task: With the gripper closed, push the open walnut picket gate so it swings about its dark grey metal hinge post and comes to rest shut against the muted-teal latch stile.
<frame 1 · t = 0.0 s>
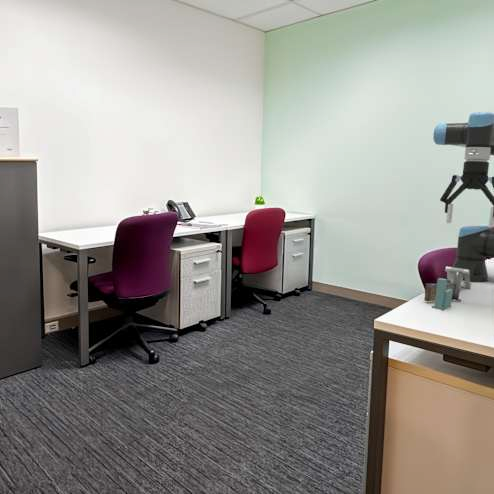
hand: (469, 225, 159), 28 cm above the table, fingers open, 13 cm apart
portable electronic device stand: (456, 288, 189), on the table
stile: (439, 308, 159), on the table
gate: (439, 291, 166), point 4 cm above the table, hinge at -26.0°
camera: (446, 291, 184), on the table
hinge post: (454, 300, 170), on the table
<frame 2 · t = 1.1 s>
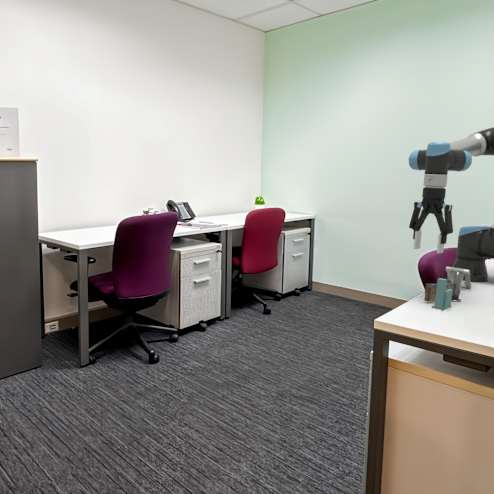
hand: (428, 250, 169), 17 cm above the table, fingers open, 9 cm apart
nothing on the table moved.
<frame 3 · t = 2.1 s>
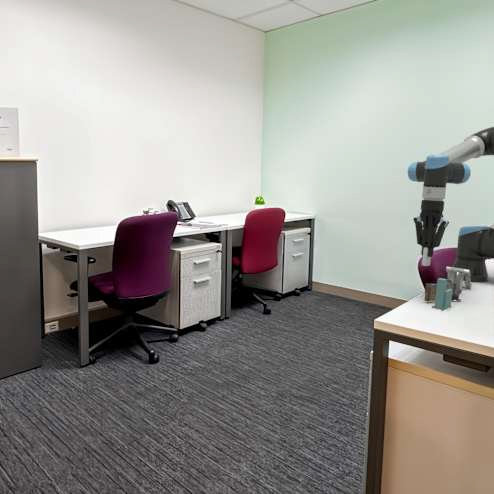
hand: (425, 265, 170), 12 cm above the table, fingers closed
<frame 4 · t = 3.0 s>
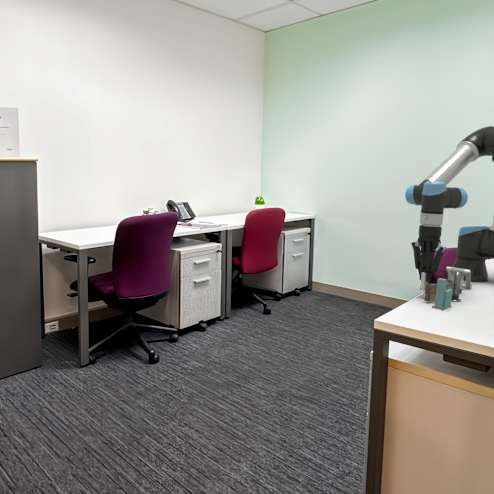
hand: (424, 289, 171), 3 cm above the table, fingers closed
nothing on the table moved.
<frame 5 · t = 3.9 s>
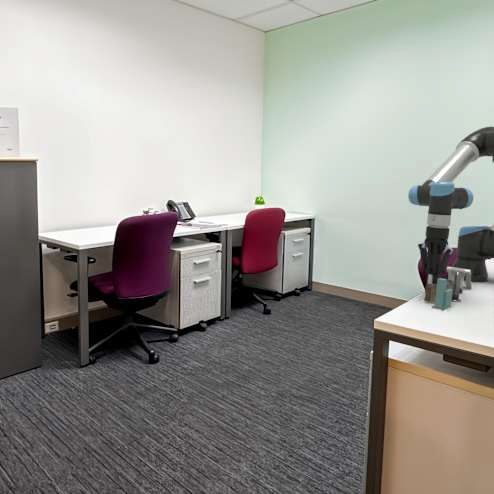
hand: (430, 292, 168), 3 cm above the table, fingers closed
gate: (439, 291, 166), point 4 cm above the table, hinge at -25.3°, touching gripper
everything else where it was.
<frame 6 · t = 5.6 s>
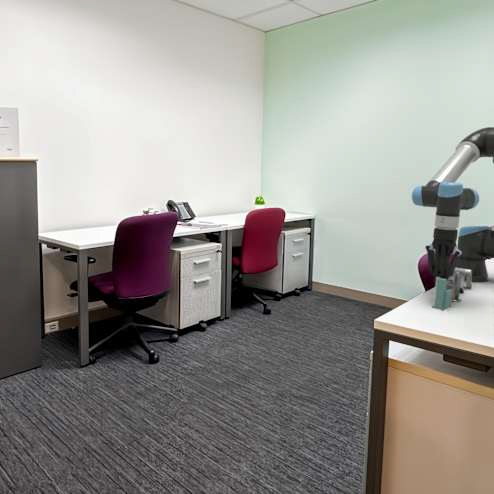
hand: (438, 294, 165), 3 cm above the table, fingers closed
gate: (447, 293, 164), point 4 cm above the table, hinge at -1.1°, touching gripper
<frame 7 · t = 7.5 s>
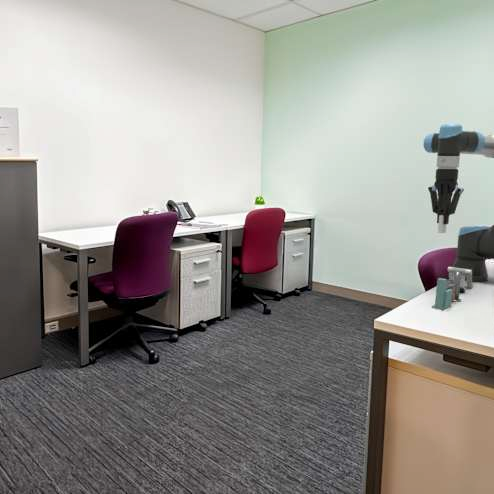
hand: (441, 232, 175), 23 cm above the table, fingers closed
gate: (447, 293, 164), point 4 cm above the table, hinge at -1.1°
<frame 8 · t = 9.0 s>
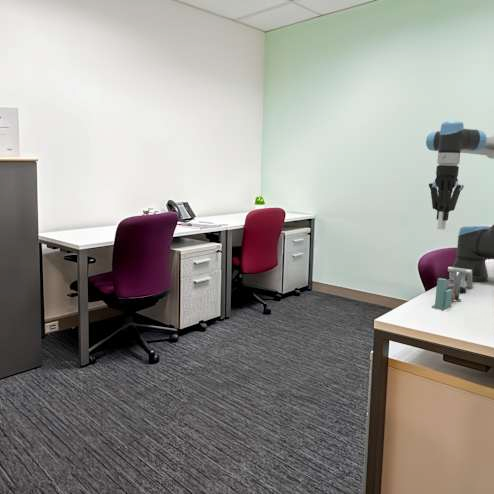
hand: (441, 228, 177), 24 cm above the table, fingers closed
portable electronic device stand: (459, 288, 190), on the table, touching camera
camera: (451, 291, 185), on the table, touching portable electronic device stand
everything else where it was.
at the end: gate at -1° (first picture: -26°) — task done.
